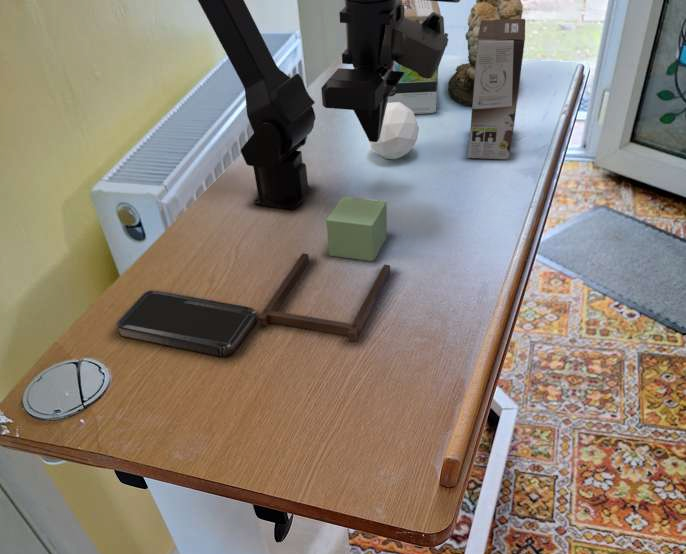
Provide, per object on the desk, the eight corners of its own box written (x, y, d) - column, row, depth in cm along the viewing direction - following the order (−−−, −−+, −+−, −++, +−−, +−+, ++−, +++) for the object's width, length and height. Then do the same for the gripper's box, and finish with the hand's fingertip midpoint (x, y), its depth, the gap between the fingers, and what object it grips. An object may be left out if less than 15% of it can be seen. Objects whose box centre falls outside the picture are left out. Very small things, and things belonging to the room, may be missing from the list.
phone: (227, 350, 73) (112, 326, 77) (229, 358, 74) (115, 334, 78) (258, 308, 78) (148, 287, 82) (260, 316, 78) (151, 295, 83)
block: (329, 255, 86) (326, 219, 83) (344, 231, 90) (342, 196, 86) (373, 261, 85) (372, 225, 81) (387, 237, 88) (386, 201, 85)
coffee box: (510, 160, 100) (525, 39, 88) (467, 159, 102) (476, 39, 90) (512, 134, 106) (527, 17, 94) (471, 133, 108) (480, 17, 95)
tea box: (438, 114, 113) (442, 12, 102) (378, 117, 114) (376, 17, 103) (431, 80, 123) (434, -15, 112) (377, 84, 124) (374, -11, 113)
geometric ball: (406, 171, 106) (437, 133, 100) (368, 169, 101) (399, 129, 95) (386, 132, 107) (416, 92, 101) (348, 128, 103) (377, 86, 96)
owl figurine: (451, 68, 126) (457, -42, 114) (515, 68, 124) (529, -44, 112) (444, 107, 115) (450, -11, 102) (515, 108, 113) (530, -12, 100)
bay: (259, 325, 77) (258, 317, 77) (303, 261, 86) (302, 253, 85) (354, 342, 74) (354, 333, 73) (390, 273, 83) (390, 264, 82)
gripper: (420, 26, 65) (416, 181, 77) (462, -27, 77) (453, 115, 88) (313, 22, 68) (326, 172, 80) (369, -29, 80) (373, 109, 91)
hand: (374, 140), depth 85 cm, fingers closed
